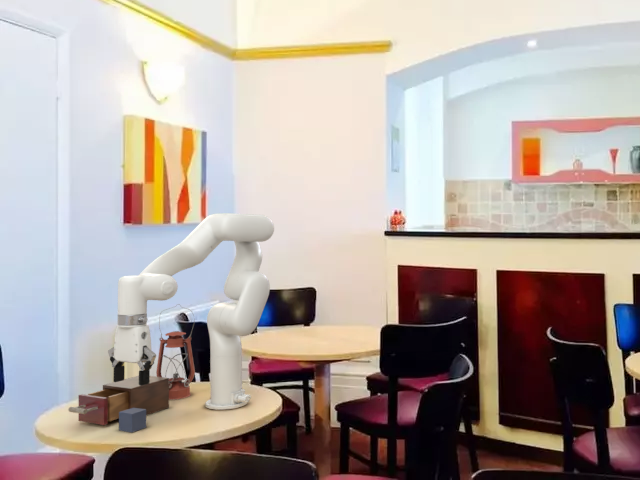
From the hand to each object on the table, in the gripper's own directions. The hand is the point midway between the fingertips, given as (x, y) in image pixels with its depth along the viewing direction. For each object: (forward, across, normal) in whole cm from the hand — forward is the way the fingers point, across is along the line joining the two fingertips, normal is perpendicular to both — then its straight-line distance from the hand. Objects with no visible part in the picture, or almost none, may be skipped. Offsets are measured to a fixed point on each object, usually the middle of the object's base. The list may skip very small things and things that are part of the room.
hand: (131, 382), depth 189 cm
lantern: (+12, +16, -33) cm, 38 cm away
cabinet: (+13, +13, -14) cm, 23 cm away
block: (+13, 0, -1) cm, 13 cm away
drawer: (+12, +13, -2) cm, 18 cm away
